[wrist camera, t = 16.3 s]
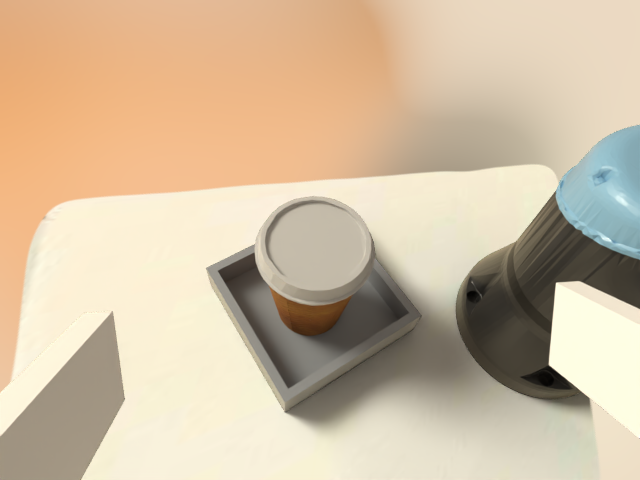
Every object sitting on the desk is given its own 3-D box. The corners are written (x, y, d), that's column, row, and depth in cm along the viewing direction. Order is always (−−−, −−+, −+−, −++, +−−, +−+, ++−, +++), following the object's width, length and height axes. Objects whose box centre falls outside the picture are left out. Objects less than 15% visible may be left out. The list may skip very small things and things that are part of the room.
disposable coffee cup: (254, 348, 43) (245, 291, 33) (267, 259, 48) (262, 186, 38) (356, 356, 43) (378, 302, 33) (358, 267, 48) (377, 196, 38)
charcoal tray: (330, 224, 52) (333, 205, 49) (412, 329, 45) (421, 315, 43) (210, 285, 47) (205, 268, 44) (284, 412, 40) (284, 402, 38)
